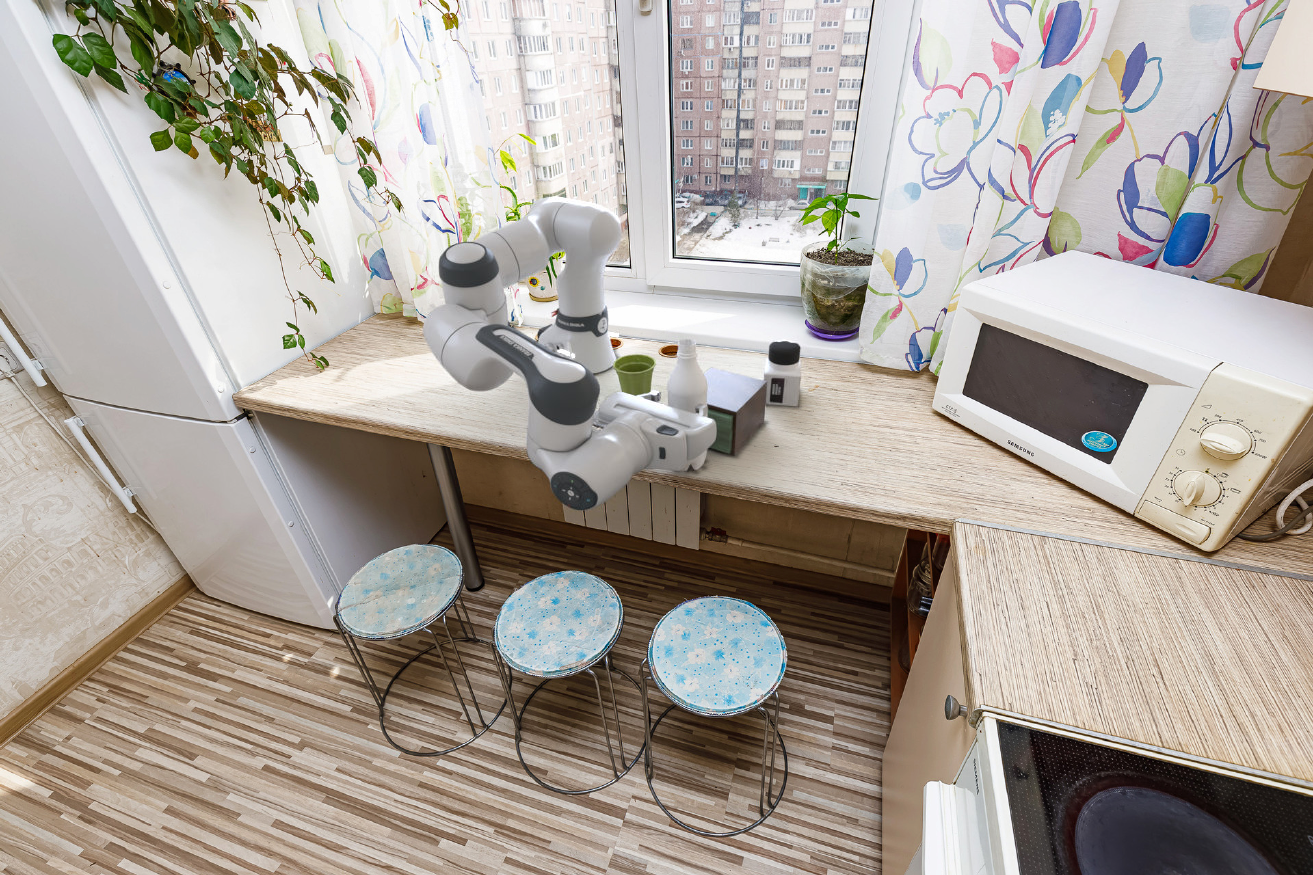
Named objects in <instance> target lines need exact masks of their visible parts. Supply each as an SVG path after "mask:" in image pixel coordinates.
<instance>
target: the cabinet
mask: <svg viewBox="0 0 1313 875" xmlns="http://www.w3.org/2000/svg"><path fill="white" fill-rule="evenodd" d="M703 373H704V375H705V377H706V380H707V384H708V389H707V406H708V408H709V409H713V410H716V411H720V412H723V413H727V414H730V415H732V416H733V433H732V451H731V452H730V453H729V454H728V455H731V456H736V455H737V454H738V453H739V451H740V450H741V449H742V448H743V447H744V446H745V445H746V444H747V443H748V442H749V440H750V439H751V438H752V437H753V436H754V435H755V434H756V433H757V431H758V430H759V429H760V428H761V427H762V426H763V425H764V424H765V415H766V405H767V404H766V392H767V381H764V379H759V378H755V377H751V376H747V375H743V374H739V373H735V372H732V371H727V370H723V369H719V368H714V367H710V368H709V369H706V371H705V372H703ZM708 449H712V450H715V451H718V452H720V451H719V450H716V449H713V448H710V447H709V448H708Z"/></svg>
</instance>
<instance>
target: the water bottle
mask: <svg viewBox="0 0 1313 875" xmlns="http://www.w3.org/2000/svg"><path fill="white" fill-rule="evenodd" d="M676 351H677V353H676V357H677V361H676V364H675V366H674V368H673V369H672V371H671V373H670V374H669V377H668V380H667V383H666V390H667V406H670V407H674V408H677V409H680V410H684V411H687V412H691V413H694V414H695V412H696V411H695V407H696V406H697V405H698V404H703V405H707V389H708V384H707V380H706V377H705V375H704V373H705V372H704V371H703V369H702V368H701V367H700V365H699V362H698V359H697V357H698V351H697V343H696V341H695V339H691V338H684V339H683V338H682V339H680V340H678V342H677V350H676ZM707 416H708V412H707V415H705V416H704V417H707ZM707 454H708V449H707V450H706V451H704V452H703V453H702V454H701V455H699V456H698V457H696V458H694V459H692V460H686V466H685V467H684V469H682V470H681V472H687V471H688V469H689V467H690V466H691V467H692V468H693V470H694V471H695V470H699V469H701V467H702V466H703V465H704V463H705V461H706V458H707Z"/></svg>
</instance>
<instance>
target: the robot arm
mask: <svg viewBox="0 0 1313 875" xmlns="http://www.w3.org/2000/svg"><path fill="white" fill-rule="evenodd" d="M622 230H623V229H622V223H621V221H620V218H619V217H618V216H617V215H616V214H615V212H612V210H611V211H610V210H609V209H608V208H606V207H604V206H602V205H599V204H597V203H592V202H588V201H582V200H577V199H571V198H567V197H562V196H548V197H542V198H539V199H537V200H535V202H533V204H531V206H530V208H529V211H528V213H527V214H526V215H524V216H523V217H521V218H520V219H518V220H516V221H515V222H511V223H509V224H507V225H504V226H502V227H500V228H498V229H495V230H493V231H490V232H488V233H485V234H484V235H482V236H480V237H478V238H475V239H474V240H472V241H460V242H457V243H454V244H451V245H449V246H448V247H447V248H446V249H445V250H444V251H443V252H442V254H441V255H440V256H439V258H438V276H439V278H440V280H441V286H442V293H443V294H442V295H443V299H444V303H445V304H441V305H439V306H437V307H434V308H433V309H432V310H431V311H430V312H429V313H428V314H427V316H426V317H425V319H424V322H423V327H422V334H423V338H424V340H425V342H426V344H427V346H428V349H429V350H430V352H431V353H432V354H433V356H434V358H435V359H436V360H437V362H438V364H440V366H441V367H442V368H443V369H444V370H445V371H446V372H447V373H448V374H449V375H450V376H451V378H453V380H454V381H455V382H456V383H458V384H459V385H460V386H462V387H463V388H465V389H467V390H468V391H471V392H489V391H493V390H495V389H497V388H499V387H500V386H502V385H504V384H505V383H506V382H507V381H508V380H510V378H511V377H512V376H513V375H514V374H516V375H517V376H519V377H520V378H522V379H523V381H524V382H525V385H526V389H527V390H526V391H527V398H528V399H527V400H528V408H527V409H528V411H527V425H526V444H525V445H526V456H527V457H528V460H529V461H530V462H531V463H532V465H533V466H534V467H536V468H537V469H539V470H540V471H542V472H543V473H544V474H545V475H546V477H547V478H548V480H549V483H550V490H551V491H552V494H553V495H554V496H555V498H556V499H557V500H558V501H559V502H560V503H561V504H562V505H564V506H566V507H568V508H570V509H572V510H575V511H580V512H581V511H582V512H583V511H589V510H593V509H596V508H597V507H599V506H601V505H603V504H604V503H606V502H608V501H609V500H610V499H611V498H613V497H614V496H616V494H618V493H619V492H620V491H621V490H622V489H623V488H625V487H626V486H627V485H628V484H629V483H630V482H631V480H632V477H633V476H634V475H637V474H639V473H641V472H642V471H643V470H663V471H664V470H666V471H673V472H680V471H681V470H682V469H684V467H685V466H686V460H692V459H694V458H696V457H698V456H699V455H701V454H702V453H703V452H704V451H706V450H707V451H708V449H710V448H709V447H710V446H711V445H712V444H713V443H714V441H715V439H716V433H717V427H716V423H715V420H713V419H711V418H707V417H704V416H705V415H707V412H708V406H707V405H703V404H698V405H697V406H696V407H695V411H696V412H695V414H694V413H691V412H687V411H684V410H680V409H677V408H674V407H670V406H668V404H663V403H660V401H661V400H662V396H661V395H662V393H661V391H658V390H655V389H651V392H650V393H647V394H642V395H637V396H634V395H630V394H627V393H624V392H622V391H618V392H614V393H612V394H611V395H609V397H607V398H606V399H605V400H604V401H603V402H602V403H601V404H600V406H599V407H598V409H597V410H596V408H597V404H598V401H599V397H600V393H601V386H600V382H599V381H598V378H597V377H596V376H595V375H594V374H597V373H601V372H604V371H607V370H609V369H611V368H613V363H614V361H615V360H617V357H616V355H615V352H614V348H613V345H612V341H611V337H615V338H619V336H620V335H619V333H615V332H609V313H608V312H609V311H608V307H607V305H606V300H605V299H606V298H605V297H606V296H605V282H604V281H605V279H604V278H605V269H606V265H607V262H608V259H609V258H610V257H611V255H613V254H614V253H615V251H617V249H618V247H619V246H620V243H621V240H622V234H623V231H622ZM562 252H564V254H565V264H564V268H563V269H562V270H561V271H560V272H559V273H558V274H557V276H556V278H555V287H556V294H557V303H558V307H557V308H556V310H554V311H551V312H550V314H551V318H554V317H555V316H556V317H555V322H554V323H550V324H548V325H546V326H543V327H541V328H539V329H538V331H537V333H536V336H537V340H535V339H533V338H532V337H530V336H528V335H527V334H525V333H524V332H522V331H520V330H518V329H516V328H515V326H514V325H513V326H514V327H513V326H512V327H511V325H510V323H511V322H510V321H509V310H508V300H507V295H506V293H505V289H506V288H509V287H512V286H513V285H515V284H518V283H520V282H522V281H525V280H526V279H527V278H530V277H532V276H534V275H537V274H538V273H540V272H543V271H544V270H545V269H546V268H547V267H548V266H549V262H550V258H551V257H553V255H555V254H557V253H562ZM597 428H598V429H597ZM681 472H682V471H681Z"/></svg>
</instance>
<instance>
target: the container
mask: <svg viewBox="0 0 1313 875" xmlns="http://www.w3.org/2000/svg"><path fill="white" fill-rule="evenodd" d="M801 349H802V348H801V345H800V344H799V343H798V342H796V341H794V340H791V339H777V340H774V341H772V342H771V343H770V344H769V346H768V355H767V356H768V357H766V358H765V362H764V371H763V380H764V381H767V392H766V405H769V406H770V405H772V406H784V407H785V406H786V407H798V405H799V398H800V390H801V389H800V388H801V381H802V360H801V359H800V356H801Z"/></svg>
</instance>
